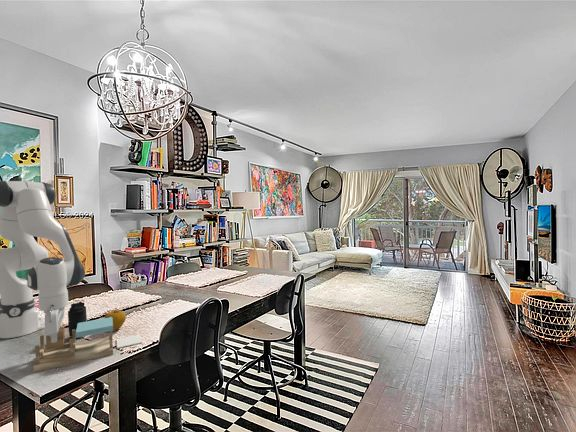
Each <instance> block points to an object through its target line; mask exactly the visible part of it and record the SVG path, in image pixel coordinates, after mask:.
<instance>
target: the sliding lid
mask: <svg viewBox="0 0 576 432" xmlns="http://www.w3.org/2000/svg"><path fill="white" fill-rule="evenodd" d="M109 331H112V332H114V331H113V319H112V317H109V318H105V317H104V318H99V319H93V320H88V321H87V322H81V323H78V324H77V329H76V339H79V338H78V337H80V338H83V337H89V336H92V335H98V334H103V333H109Z"/></svg>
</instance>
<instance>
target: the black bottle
mask: <svg viewBox="0 0 576 432" xmlns="http://www.w3.org/2000/svg"><path fill="white" fill-rule="evenodd" d="M87 319H88V318H87V306H85V302H82V301H79V302H76V303H71V304H70V308H69V309H68V311H67V321H68V322H67V323H68V336H69V337H71V338H72V330H74V329H75V334H76V329H77V324H78V323H81V322H87ZM79 338H81V337H78V338H77V339H79Z"/></svg>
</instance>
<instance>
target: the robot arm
mask: <svg viewBox="0 0 576 432" xmlns="http://www.w3.org/2000/svg"><path fill="white" fill-rule="evenodd" d="M56 193H57V192H56V189H55V187H54V185H53V184H51V183H48V182H38V181H33V180H32V181H31V180H23V181H22V180H8V181H6V180H0V237H1V238H2V239H5V240H6V241H10V242H13V243H14V246H13V247H7V248H6V247H4V248H0V339H12V338H17V337H18V338H19V337H23V336H27V335H29V334H31V333H32V334H33V333H35V332H37V331H39V330H42V329H44V335H45V337H46V336H50V337H51V342H52V343H55V342H57V341H58V336H57V334H58V331H59V328H60V327H61V326H62V322H63V319H64V317H65V307H67V306H68V305H69V290H68V289H67V287H70V286H71V287H72V286H73V287H74V286H78V285H79V284H80V283H81V282H82V281H83V280H84V279H85V277H86V271H85V268H84V265H83V263H82V261H81V259H80V258H79V256H78V254H77V251H76V248H75V247H74V244H73V242H72V238H71V237H70V235H69V232H68V231H67V228H66V226H65V225H63V224H61V223H59V222H58V221H57V220H56V219H55V217H54V215H53V211H52V206H51V205H52V204H54V203H55V201H56V196H57V194H56ZM34 237H36V238H40V239H45V240H49V241H51V242H54V243H56V245H58V247H59V250H60V253H61V254H62V256H63V258H61V257H59V256H57V257H55V256H52V257H50V256H49V255H50V254H49V252H48V250H47V248H45V246H42V245H41V244H39V243H38V242H37V240H36V239H35V238H34ZM26 270H27V272H26V278H22V277H18V276H17V272H22V271H26ZM33 291H38V292H39V293H38V297H37V298H38V309H39V311H43V314H45V315H44V319H43V317H40V316H39V311H38V309H37V308H36V307H35V305H36V301H35V299H34V295H33Z"/></svg>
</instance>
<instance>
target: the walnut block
mask: <svg viewBox="0 0 576 432" xmlns="http://www.w3.org/2000/svg"><path fill="white" fill-rule="evenodd" d="M65 332H66V331H65V325H61V326H60V328H59V331H58V334H57V336H58V341H57V342H55V343H52V342H51V337H50V336H46V335H45V341H46V347H47V350H49V349H54V348H59V347H64V344H65V342H66V336H65V335H66V334H65Z"/></svg>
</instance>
